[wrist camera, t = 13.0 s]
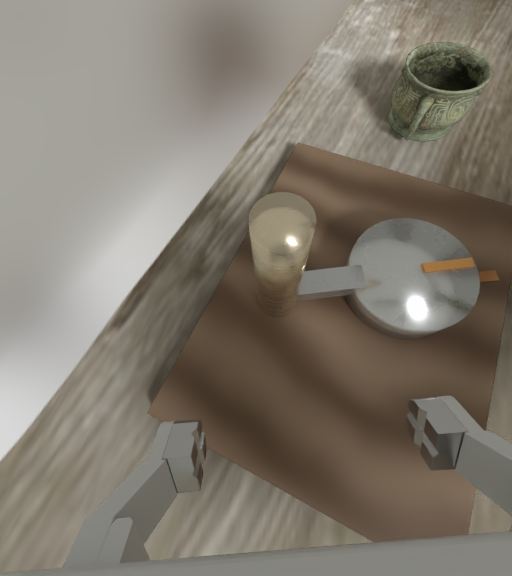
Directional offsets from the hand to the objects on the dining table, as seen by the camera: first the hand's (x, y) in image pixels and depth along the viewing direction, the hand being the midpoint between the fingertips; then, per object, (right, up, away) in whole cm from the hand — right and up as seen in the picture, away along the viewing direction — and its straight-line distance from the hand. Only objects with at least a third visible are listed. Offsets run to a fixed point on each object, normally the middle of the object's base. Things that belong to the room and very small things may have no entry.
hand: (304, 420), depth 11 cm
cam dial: (+7, +5, +15) cm, 17 cm away
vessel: (+19, +26, +25) cm, 41 cm away
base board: (+7, +4, +16) cm, 18 cm away
